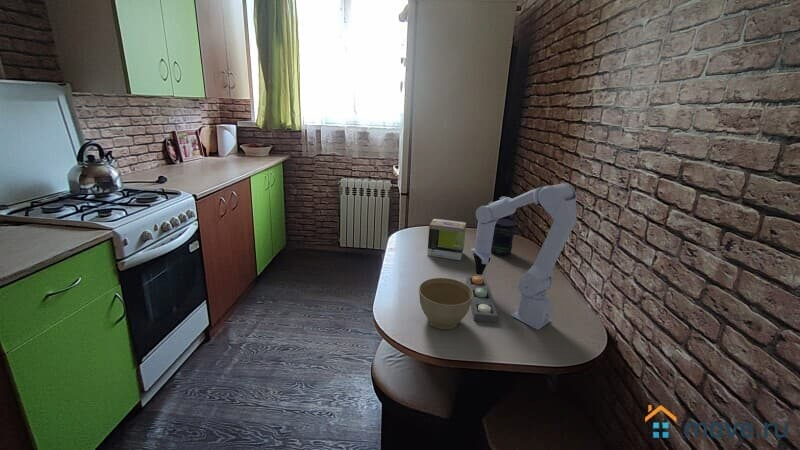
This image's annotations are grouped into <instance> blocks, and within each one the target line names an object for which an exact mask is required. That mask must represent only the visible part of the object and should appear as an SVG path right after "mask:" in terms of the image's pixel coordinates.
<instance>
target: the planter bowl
mask: <svg viewBox="0 0 800 450" xmlns="http://www.w3.org/2000/svg"><path fill="white" fill-rule="evenodd" d="M418 293H419V304H420V307H421V310H422V312H423V313H424V315H425V317H426V318H427V322H428V323H429V324H430V325H431V326H432V327H434V328H437V329H440V330H451V329H454V328H456V327H457V326H458V325H459V323H460V322H461V321H462V320H463V319H464V318H465V316H466V315H467V314H468V312H469V310H470V309H471V300H472V298H473V292H472V290H471V288H470V287H469V286H468V285H466V282H465V283H464V282H462V281H460V280H458V279H454V278H448V277H432V278H429V279H425V280H424V281H423V282H421V284H420V285H419V288H418Z"/></svg>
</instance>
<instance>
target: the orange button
mask: <svg viewBox="0 0 800 450" xmlns="http://www.w3.org/2000/svg"><path fill="white" fill-rule="evenodd" d="M471 277H472V284H473V285H483V278H484V277H482V276H481V275H474V276H471Z"/></svg>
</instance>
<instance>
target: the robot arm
mask: <svg viewBox="0 0 800 450" xmlns="http://www.w3.org/2000/svg"><path fill="white" fill-rule="evenodd" d="M578 198H579V197H578V194H577V192H576V190H575V188H574V187H573V185H571V184H570V183H568V182H561V183H558V184H553V185H545V186H543V187H539V188H534V189H531V190H529V191H526V192H525V193H522V194H520V195H518V196H516V197H513V198H511V197H509V196H503V195H502V196H501V197H499V200H496V201H490V202H488V204H487V205H481V206H479V207H478V208H477V209H476V211H475V218H476V220H477V221H478V222H477V226H476V227H477V228H476V234H475V241H474V247H473V248H470V252H471V253H472V255H473V259H474V265H475V266H474V267H475V274H476V275H477V276H481V275H483V274H484V271H485V269H486V267H487V265H489V263H490V261H491V257H490V256H491V255H492V254H491V247H492V241H493V234H494V228H495V225H496V221H497V220H498V219H500V218H502V219H503V218H504V217H505V218H506V217H508V216H511V215H513V214H515V213H516V210H517V208H520V207H523V206H526V205H530V204H533V203H535V204H536V205H541V206H542V208H543V209H544V210H545V212H547V213H548V215H549V216H551V218H552V221H553V222H552V224H551V226H550V229H549V231H548V233H547V236H546V237H545V239H544V242H543V244H542V246H541V247H540V250H539V253H538V255H537V256H536V259H535V261H534V263H533V264H532V266H531V267H530V268H529V269H528V270H527V271H526V273H525V275H524V276H523V277H522V278H520V279H519V281H518V289H519V291H520V296H519V302H518V307H517V310H516V311H515V312H513V313H512V314H511V317H513V318H514V319H517V320H518V321H521V323H524V324H526V325H528V326H529V327H532V328H533V329H535V330H541V328H543V327H544V326H546V325H547V324H549V323H550V322H551V316H552V310H553V307H554V302H553V301H552V300H550V299H549V298H548V297H547V290H549V289H550V288H551V287H552V285H553V276H554V274H555V273H554V271H553V269H554V267H555V264H556V263H557V261H558V259H559V257H560V255H561V252H562V250H563V248H564V247H565V245H566V243H567V241H568V238H569V237H570V234H571V232H572V230H573V229H574V228H575V224H576V222H577V218H578V217H577V200H578Z"/></svg>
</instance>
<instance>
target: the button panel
mask: <svg viewBox="0 0 800 450" xmlns="http://www.w3.org/2000/svg"><path fill="white" fill-rule="evenodd" d="M472 277H473V276H466V279H465V281H466V282H465V284H466V285H468V286H469V287H470V288H471V290H472V292H473V298H472V300H471V305H470V309H471V313H472V317H473V321H476V322H484V323H485V322H486V323H487V322H488V323H497V322H498V316H499V315H498V313H497V309H496V307H495V303H494V300H493V296H492V294H491V291H490V288H489V285H488V281H487V279H486V277H482V278H483V285H473V284H472ZM476 288H484V289H486V290H487V297H486V298H477V297H475V289H476ZM480 304H486V305H488V306H490V307H491V313H481V312H478V306H479V305H480Z"/></svg>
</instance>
